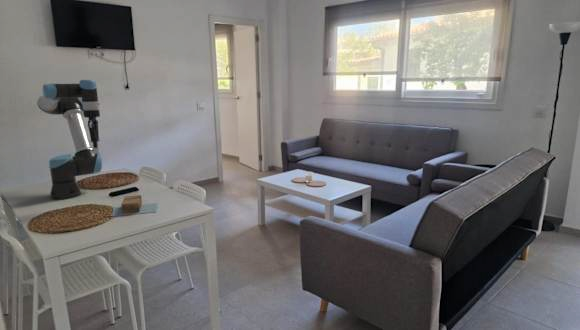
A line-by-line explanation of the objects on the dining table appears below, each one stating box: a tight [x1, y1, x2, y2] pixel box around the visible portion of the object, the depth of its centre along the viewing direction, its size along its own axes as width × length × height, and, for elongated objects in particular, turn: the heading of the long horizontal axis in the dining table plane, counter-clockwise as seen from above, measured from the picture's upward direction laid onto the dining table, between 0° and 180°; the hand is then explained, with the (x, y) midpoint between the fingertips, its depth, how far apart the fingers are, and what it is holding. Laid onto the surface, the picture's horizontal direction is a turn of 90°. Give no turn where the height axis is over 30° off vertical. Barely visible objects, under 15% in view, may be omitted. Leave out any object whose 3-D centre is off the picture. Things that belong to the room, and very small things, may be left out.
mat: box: [111, 202, 158, 217], centre depth 186 cm, size 14×24×1 cm, turn 107°
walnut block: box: [120, 194, 143, 214], centre depth 187 cm, size 5×8×13 cm
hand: (96, 153), depth 197 cm, fingers closed
